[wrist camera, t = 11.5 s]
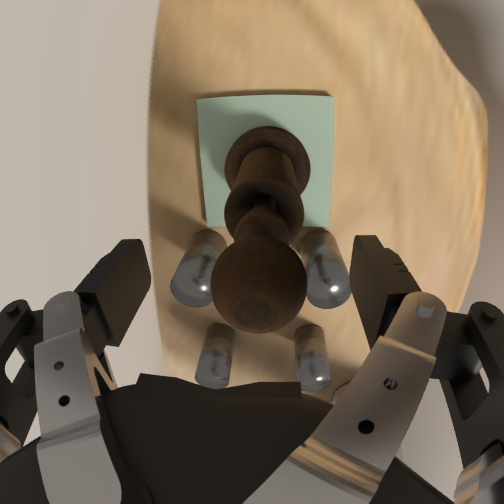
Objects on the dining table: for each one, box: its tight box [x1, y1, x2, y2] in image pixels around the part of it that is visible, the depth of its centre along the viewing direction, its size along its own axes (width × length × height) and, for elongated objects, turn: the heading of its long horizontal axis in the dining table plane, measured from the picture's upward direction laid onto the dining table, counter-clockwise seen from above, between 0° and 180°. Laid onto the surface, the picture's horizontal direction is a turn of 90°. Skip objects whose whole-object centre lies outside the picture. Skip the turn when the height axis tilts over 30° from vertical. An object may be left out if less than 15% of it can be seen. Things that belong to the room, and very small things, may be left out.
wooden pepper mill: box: [210, 126, 311, 334], centre depth 16 cm, size 7×6×18 cm
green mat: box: [196, 95, 334, 227], centre depth 24 cm, size 11×12×1 cm
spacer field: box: [170, 230, 352, 391], centre depth 28 cm, size 14×16×7 cm
